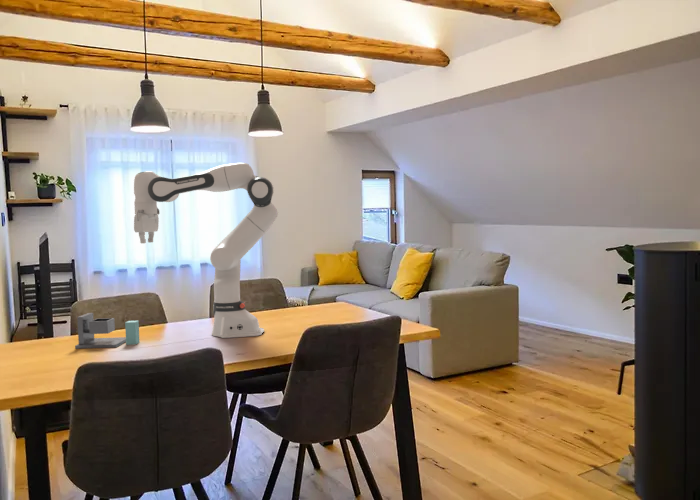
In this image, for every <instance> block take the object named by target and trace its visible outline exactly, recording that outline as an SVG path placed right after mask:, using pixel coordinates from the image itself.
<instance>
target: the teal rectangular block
mask: <svg viewBox="0 0 700 500" xmlns="http://www.w3.org/2000/svg"><path fill="white" fill-rule="evenodd" d="M139 323H140V321H139V320H128V321H125V322H124V325H125V327H124V328H125V329H124V330H125V337H126V342H125V345H137V344H139V343H140V324H139Z"/></svg>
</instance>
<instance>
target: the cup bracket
mask: <svg viewBox="0 0 700 500" xmlns="http://www.w3.org/2000/svg"><path fill="white" fill-rule="evenodd" d="M76 320H77V334H78V335H77V338H78V339H77V340H78V344H76V345H75V346H74V349H80V350H82V349H110V348H114V349H115V348H119V346H122V345H123V344H126V336H125V337H95V335H97V334H98V335H102V334H103V335H106V334H110V333H111V332H114V331H115V330H116V325H115V323H116V322H115V317H107V318H106V317H105V318H104V317H103V318H95V319H94V312H87V313H85V314H82V315H79V316H77V319H76Z"/></svg>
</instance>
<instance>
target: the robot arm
mask: <svg viewBox="0 0 700 500" xmlns="http://www.w3.org/2000/svg"><path fill="white" fill-rule="evenodd" d="M133 181H134V182H133V194H134V196H135V197H134V217H133V218H134V219H133V231H134V232H135V233H138V237H139V239H140V241H139V243H140V244H146V243H147V242H148V243H153V242H154V236H155V232H158V231H159V222H160V221H159V215H160V209H159V208H158V206H157V205H158V204H157V203H163V202H164V203H171V202H174V201H176V200H177V199H178V198H179V196H180V194H184V193H188V192H190V193H191V192H194V191H207V192H211V193H212V192H213V193H217V192H218V193H221V192H229V191H232V190H238V189H244V190H246V192H247V195H248V197H249V198H250V200H251V202H252V203H253V206H252V208H251V210H250V211H249V212H248V213H247V214H246V216H244V218H242V220H241V221H240V222H239V223H238V224H237V225H236V226H235V227H234V229H233V230H231V231H230V232H229V233H228V234H227V235H226V237H224V238H223V239H222V240H221V241H220V243H219V244H217V246H215V247H214V248H213V250H212V251H211V253H210V263H211V265H212V267H214V280H213V297H214V301H213V303H212V304H213V305H212V308H213V315H214V316H213V317H214V318H213V320H214V321H213V327H212V332H211V336H214V337H219V338H222V339H228V338H230V339H231V338H243V337H244V338H245V337H246V338H247V337H258V336H261V335H263V334H264V333H265V329H264V328H262V327H260V324H259V320H258V318H257V317H256V316H255V315H254V314H252V313H251V312H250V311H248V310H247V309H246V302H244V301H242V300H241V285H240V283H241V282H240V281H241V280H240V279H241V259H242V258H243V257H244V256H246V254H247V253H248V252H249V251H250V250H251V249H252V248H254V246H255V245H256V244H257V243H258V242H259V240H260V239H261V238H262V237H263V236H264V235H265V234H266V232H267V231H268V230H269V229H270V228H271V227H272V225H273V224H274V223H275V221H276V219H277V217H278V215H279V214H278V213H279V212H278V210H277V208H276V206H275V205H274V204H273V203H272V198H273V196H274V191H275V190H274V185H273V183H272V181H271V180H270V179H268V178H266V177H263V176H257V175H255V174H254V170H253V168H252V167H251V165H250V164H249V163H247V162H235V163H228V164H221V165H218V166H215V167H212V168H209V169H207V170H204V171H201V172H199V173H196V174H192V175H191V174H190V175H187V176H182V177H177V178H168V177H164V176H160V175H158V174H156V173H155V172H154V171H152V170H146V171H145V170H144V171H141V172H138V173H137V174H136V175H135V176H134V180H133ZM146 233H148V234H147V235H148V238H147V240H146V237H145V235H146ZM146 241H147V242H146ZM263 332H264V333H263ZM262 333H263V334H262Z"/></svg>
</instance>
